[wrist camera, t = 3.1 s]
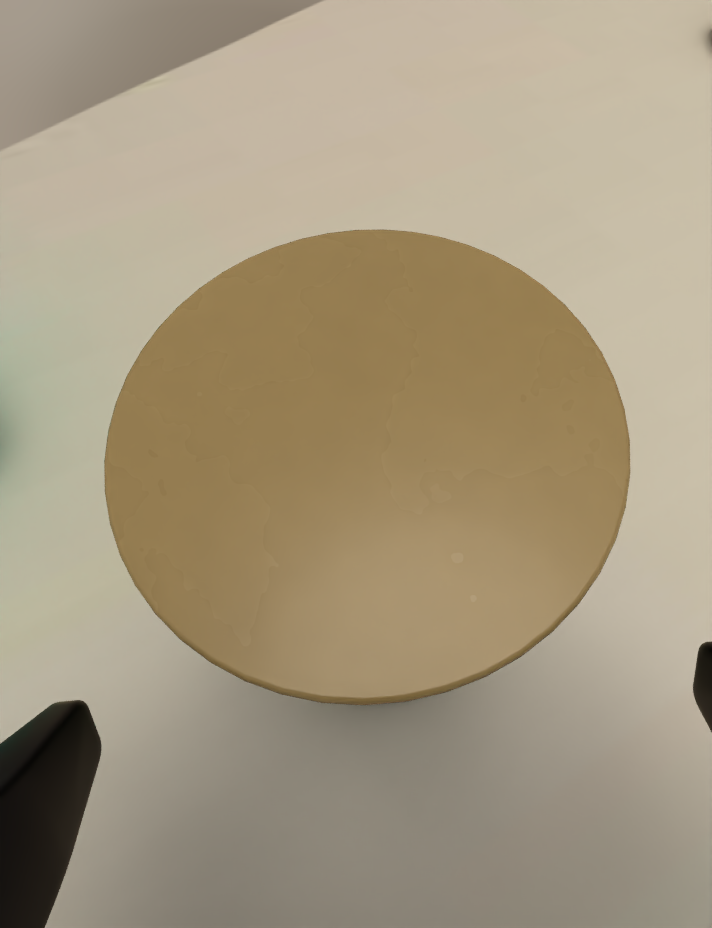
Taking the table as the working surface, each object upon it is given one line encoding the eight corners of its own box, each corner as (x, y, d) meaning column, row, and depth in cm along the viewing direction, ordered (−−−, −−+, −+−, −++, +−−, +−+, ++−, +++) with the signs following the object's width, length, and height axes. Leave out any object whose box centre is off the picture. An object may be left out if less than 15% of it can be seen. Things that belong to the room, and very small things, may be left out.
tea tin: (442, 736, 16) (559, 822, 5) (265, 658, 18) (-4, 568, 6) (497, 553, 19) (675, 289, 7) (335, 495, 20) (244, 188, 8)
